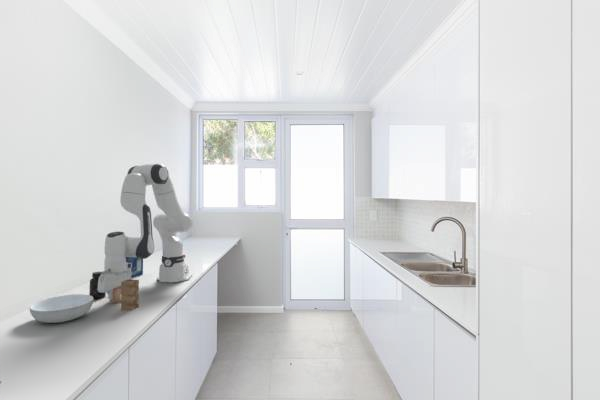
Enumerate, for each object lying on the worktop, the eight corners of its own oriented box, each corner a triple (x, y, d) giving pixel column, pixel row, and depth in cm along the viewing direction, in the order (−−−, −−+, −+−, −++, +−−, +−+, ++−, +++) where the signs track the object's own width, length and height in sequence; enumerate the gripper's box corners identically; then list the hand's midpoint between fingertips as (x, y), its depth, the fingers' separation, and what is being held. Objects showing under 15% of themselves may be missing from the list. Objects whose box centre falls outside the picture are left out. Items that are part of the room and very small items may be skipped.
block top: (127, 288, 152) (127, 279, 152) (138, 288, 152) (138, 279, 152) (121, 291, 148) (121, 282, 147) (132, 291, 147) (132, 282, 147)
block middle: (127, 297, 153) (127, 288, 152) (138, 297, 152) (138, 288, 152) (121, 300, 148) (121, 291, 148) (132, 301, 147) (132, 291, 147)
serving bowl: (38, 313, 142) (38, 297, 142) (96, 307, 150) (97, 292, 150) (21, 332, 123) (21, 313, 123) (88, 324, 131) (88, 306, 131)
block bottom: (127, 306, 153) (127, 297, 153) (138, 306, 152) (138, 297, 152) (121, 309, 148) (121, 300, 148) (132, 310, 147) (132, 301, 147)
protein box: (110, 279, 200) (110, 252, 200) (129, 273, 215) (129, 248, 215) (125, 280, 198) (125, 253, 197) (143, 274, 213) (143, 249, 212)
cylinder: (113, 299, 161) (113, 287, 161) (122, 300, 161) (122, 287, 161) (107, 302, 157) (107, 289, 157) (116, 303, 156) (116, 290, 156)
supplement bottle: (98, 300, 161) (98, 274, 161) (85, 298, 162) (86, 273, 162) (109, 295, 167) (109, 271, 167) (97, 294, 169) (97, 270, 169)
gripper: (107, 272, 148) (107, 304, 148) (134, 263, 168) (133, 291, 169) (93, 271, 148) (93, 303, 149) (121, 262, 169) (121, 290, 169)
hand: (115, 296), depth 159 cm, fingers closed on cylinder, 5 cm apart
